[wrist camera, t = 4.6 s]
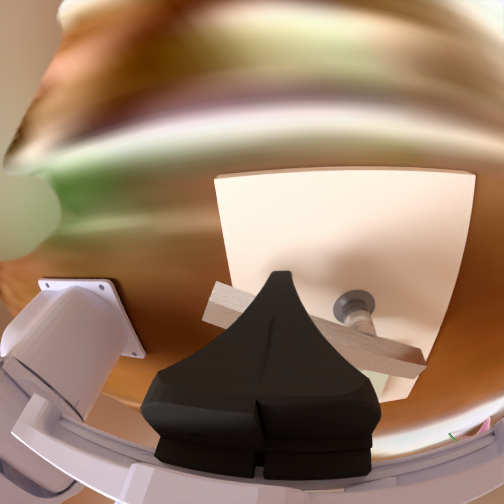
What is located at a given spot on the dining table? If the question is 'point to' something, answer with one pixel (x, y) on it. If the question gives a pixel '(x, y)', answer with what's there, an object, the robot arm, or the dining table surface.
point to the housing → (353, 242)
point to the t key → (332, 333)
